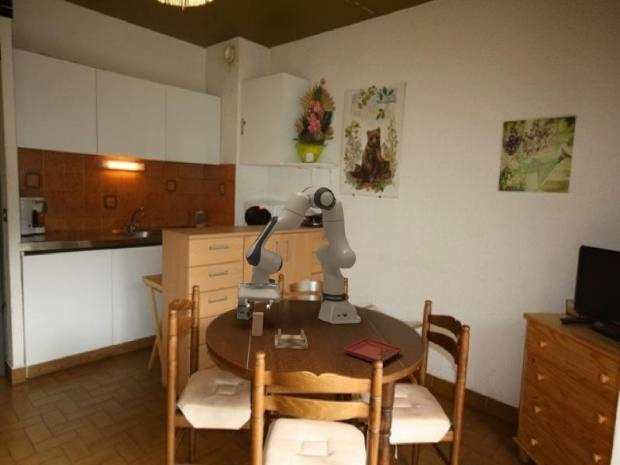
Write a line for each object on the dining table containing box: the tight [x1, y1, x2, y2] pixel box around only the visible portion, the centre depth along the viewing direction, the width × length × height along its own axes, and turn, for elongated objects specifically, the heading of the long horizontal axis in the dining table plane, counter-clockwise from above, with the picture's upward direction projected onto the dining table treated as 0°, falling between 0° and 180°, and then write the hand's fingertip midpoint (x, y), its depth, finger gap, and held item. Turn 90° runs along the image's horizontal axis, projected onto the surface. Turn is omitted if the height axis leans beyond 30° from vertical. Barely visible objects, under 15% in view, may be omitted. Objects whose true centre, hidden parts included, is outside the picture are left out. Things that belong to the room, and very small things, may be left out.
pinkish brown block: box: [251, 311, 264, 337], centre depth 186 cm, size 4×4×10 cm
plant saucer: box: [344, 337, 403, 363], centre depth 171 cm, size 18×18×3 cm
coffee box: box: [236, 299, 256, 321], centre depth 211 cm, size 9×6×16 cm
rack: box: [274, 328, 309, 350], centre depth 179 cm, size 14×13×4 cm
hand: (258, 308), depth 191 cm, fingers open, 8 cm apart
